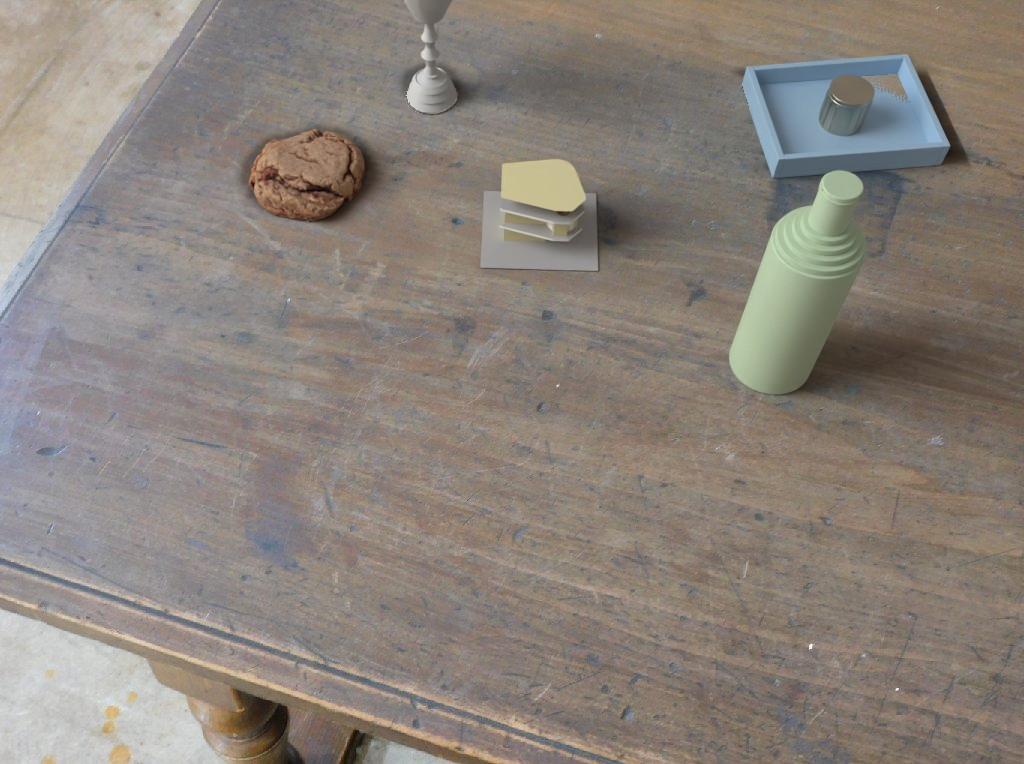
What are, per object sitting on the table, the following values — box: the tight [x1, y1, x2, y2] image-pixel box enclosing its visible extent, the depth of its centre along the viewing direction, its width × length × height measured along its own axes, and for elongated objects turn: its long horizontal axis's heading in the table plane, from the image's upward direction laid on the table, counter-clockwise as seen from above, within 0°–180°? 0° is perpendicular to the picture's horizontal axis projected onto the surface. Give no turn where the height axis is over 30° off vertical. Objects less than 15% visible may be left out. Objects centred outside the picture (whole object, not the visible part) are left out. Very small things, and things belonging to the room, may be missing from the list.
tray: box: [741, 53, 951, 179], centre depth 98 cm, size 15×12×2 cm
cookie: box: [248, 128, 366, 222], centre depth 96 cm, size 10×11×3 cm
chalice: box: [403, 0, 458, 113], centre depth 95 cm, size 7×7×18 cm
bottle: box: [728, 170, 868, 396], centre depth 78 cm, size 6×6×20 cm
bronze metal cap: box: [819, 75, 875, 136], centre depth 97 cm, size 4×4×4 cm
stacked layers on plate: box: [479, 158, 599, 272], centre depth 91 cm, size 10×9×6 cm
